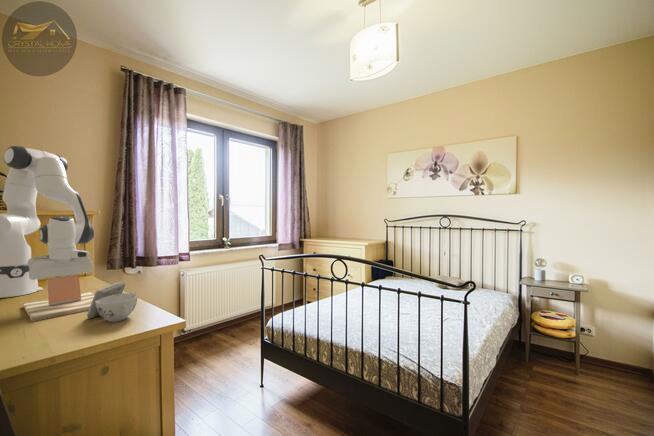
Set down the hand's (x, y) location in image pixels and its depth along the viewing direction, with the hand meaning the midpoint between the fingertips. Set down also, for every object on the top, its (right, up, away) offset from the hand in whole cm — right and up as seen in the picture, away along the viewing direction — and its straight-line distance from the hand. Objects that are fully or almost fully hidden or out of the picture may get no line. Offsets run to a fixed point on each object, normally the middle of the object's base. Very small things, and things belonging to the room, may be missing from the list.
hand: (62, 286), depth 123 cm
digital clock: (+27, -8, -10) cm, 29 cm away
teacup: (+37, -8, -18) cm, 42 cm away
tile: (+2, -1, -2) cm, 3 cm away
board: (+4, -8, -3) cm, 9 cm away
